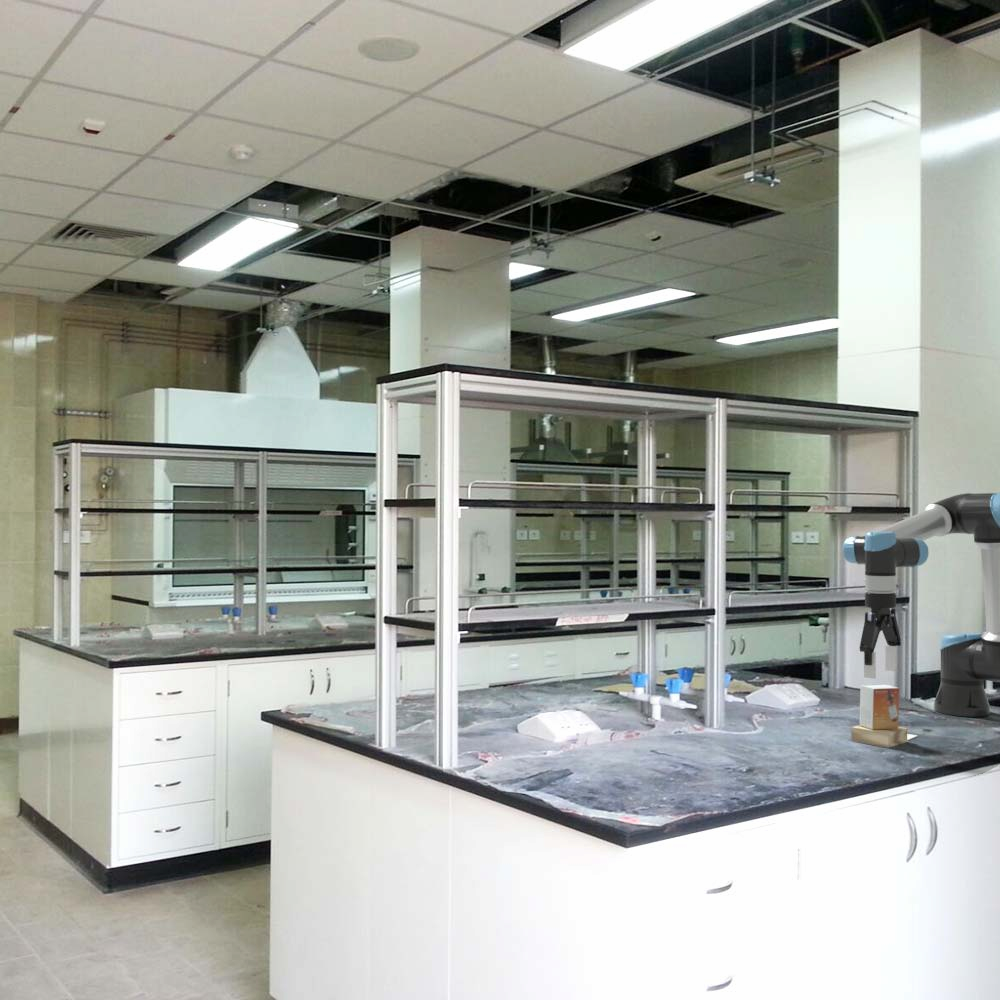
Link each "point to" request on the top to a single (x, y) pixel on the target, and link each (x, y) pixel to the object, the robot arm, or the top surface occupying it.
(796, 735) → the top surface
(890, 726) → the small box
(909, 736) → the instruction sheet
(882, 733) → the base block
